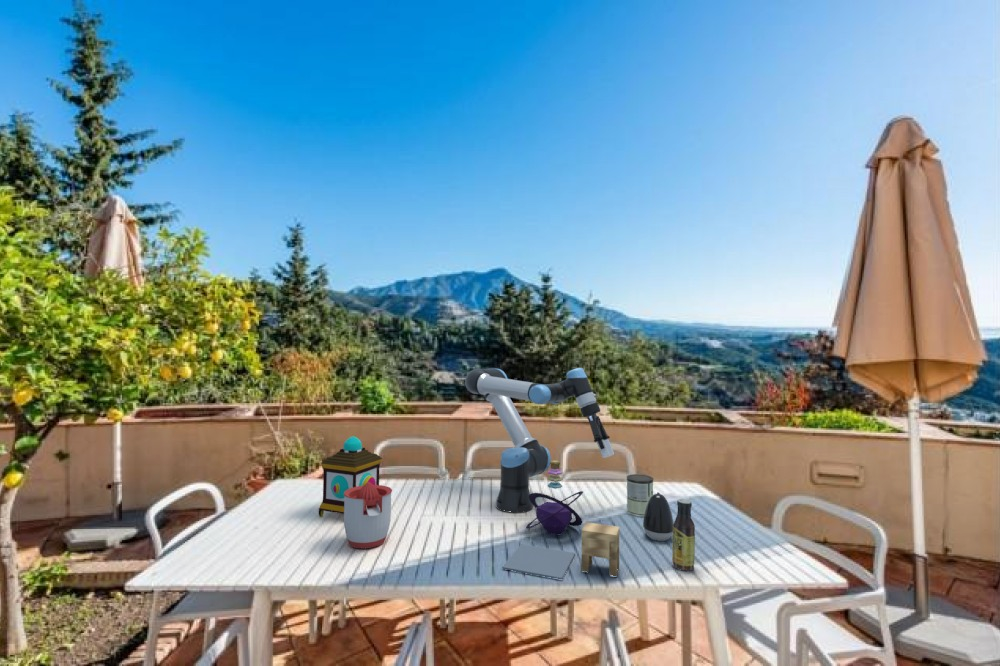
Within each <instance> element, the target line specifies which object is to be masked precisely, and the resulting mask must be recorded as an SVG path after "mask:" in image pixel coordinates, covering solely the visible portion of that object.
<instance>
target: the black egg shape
mask: <svg viewBox="0 0 1000 666" xmlns="http://www.w3.org/2000/svg"><path fill="white" fill-rule="evenodd" d="M642 522H643V523H642V526H643V529H644V531H645V534H646V535H647V536H648V537H649V538H650V539H651V540H654V541H656V540H657V542H664V541H668V540H669V539H671V538H672V537H673V525H674V518H673V514H672V510H671V507H670V504H669V502H668V500H667V498H666V497H665V495H663V494H661V493H660V491H658V492H657V493H653V495H652V496H651V498H650V499H649V501H648V503H647V506H646V510H645V514H644V517H643V519H642Z"/></svg>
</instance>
